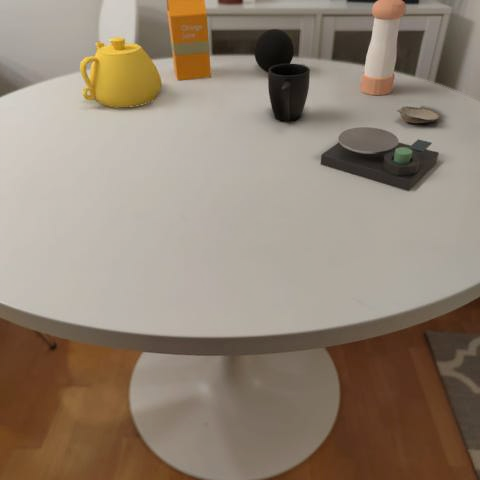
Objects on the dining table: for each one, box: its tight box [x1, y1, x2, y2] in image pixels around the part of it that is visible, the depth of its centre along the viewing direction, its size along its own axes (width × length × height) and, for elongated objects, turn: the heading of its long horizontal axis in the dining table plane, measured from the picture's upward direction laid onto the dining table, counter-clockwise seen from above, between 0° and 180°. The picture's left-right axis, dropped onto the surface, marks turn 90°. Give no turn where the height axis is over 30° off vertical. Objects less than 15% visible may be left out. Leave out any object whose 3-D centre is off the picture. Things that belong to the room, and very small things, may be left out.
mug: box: [267, 63, 311, 123], centre depth 92 cm, size 8×12×10 cm
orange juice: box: [166, 0, 212, 81], centre depth 114 cm, size 8×9×20 cm
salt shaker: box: [359, 0, 407, 96], centre depth 101 cm, size 7×7×19 cm
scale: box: [320, 142, 440, 192], centre depth 78 cm, size 16×12×4 cm
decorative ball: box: [253, 28, 295, 73], centre depth 116 cm, size 10×10×10 cm
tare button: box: [394, 147, 412, 164], centre depth 73 cm, size 3×3×2 cm
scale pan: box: [337, 126, 433, 154], centre depth 77 cm, size 14×10×1 cm
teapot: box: [79, 36, 163, 108], centre depth 105 cm, size 20×19×13 cm
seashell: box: [396, 106, 440, 124], centre depth 92 cm, size 8×3×8 cm
